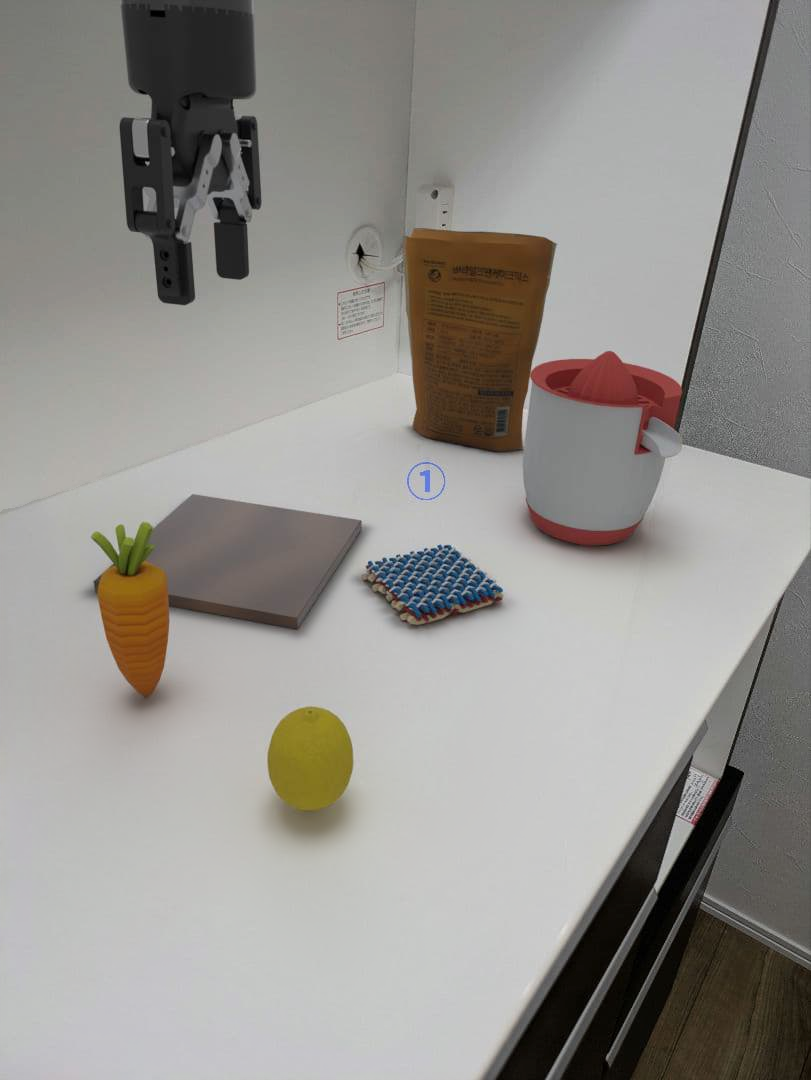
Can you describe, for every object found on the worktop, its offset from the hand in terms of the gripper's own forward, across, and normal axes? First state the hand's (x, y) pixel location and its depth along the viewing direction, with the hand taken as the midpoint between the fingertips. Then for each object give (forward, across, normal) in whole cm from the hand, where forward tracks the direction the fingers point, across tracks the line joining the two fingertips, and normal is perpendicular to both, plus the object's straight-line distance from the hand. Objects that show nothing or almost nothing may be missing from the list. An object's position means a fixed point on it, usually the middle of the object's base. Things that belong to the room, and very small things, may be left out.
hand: (206, 289), depth 56 cm
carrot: (+30, +7, -4) cm, 31 cm away
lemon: (+30, +14, +12) cm, 35 cm away
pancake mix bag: (+30, -55, +10) cm, 63 cm away
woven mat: (+30, -15, +14) cm, 37 cm away
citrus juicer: (+30, -34, +28) cm, 53 cm away
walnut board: (+30, -15, -6) cm, 34 cm away
